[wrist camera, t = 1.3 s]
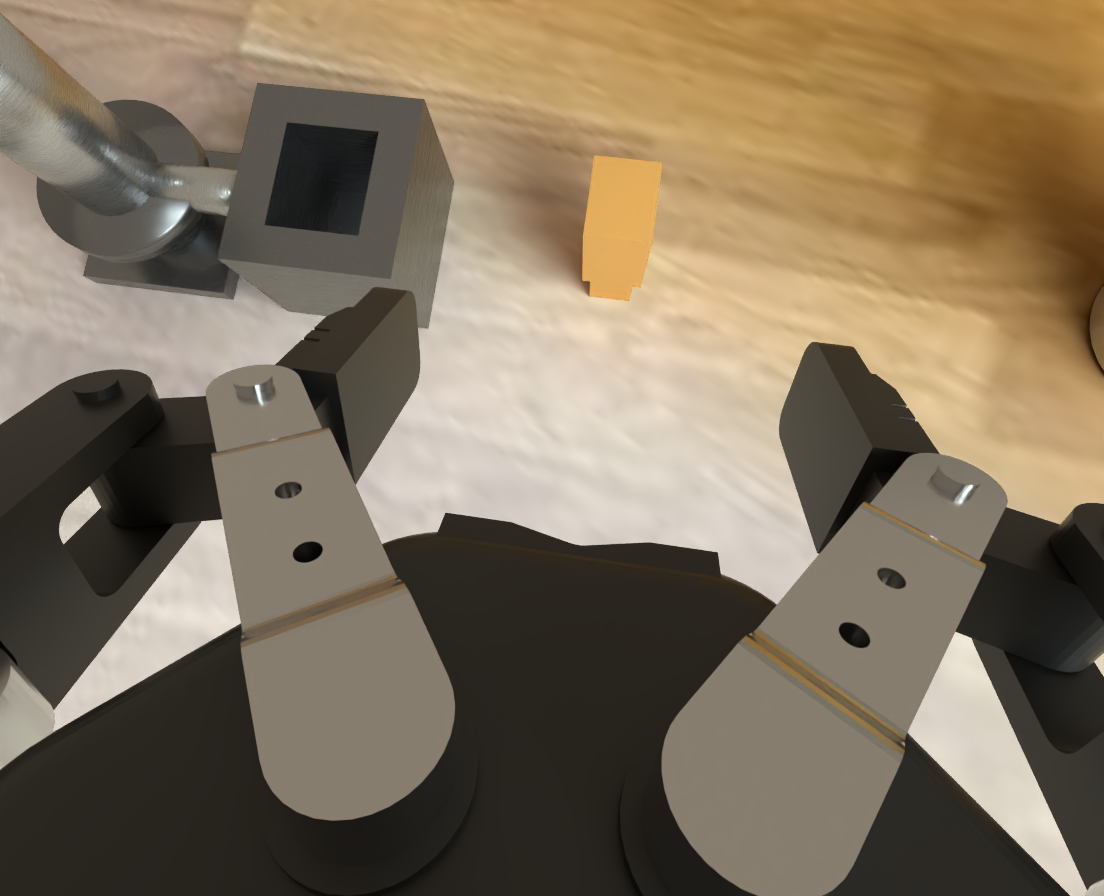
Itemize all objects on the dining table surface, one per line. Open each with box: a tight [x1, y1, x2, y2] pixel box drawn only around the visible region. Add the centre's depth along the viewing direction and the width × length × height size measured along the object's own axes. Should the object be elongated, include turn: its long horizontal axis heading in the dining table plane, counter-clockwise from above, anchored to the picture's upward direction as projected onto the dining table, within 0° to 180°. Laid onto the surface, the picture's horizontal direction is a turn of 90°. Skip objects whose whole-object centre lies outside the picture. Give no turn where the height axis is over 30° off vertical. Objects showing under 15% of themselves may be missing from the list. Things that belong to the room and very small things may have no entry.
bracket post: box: [0, 13, 454, 328], centre depth 27 cm, size 21×10×18 cm, turn 82°
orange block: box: [582, 156, 662, 301], centre depth 31 cm, size 3×4×8 cm
